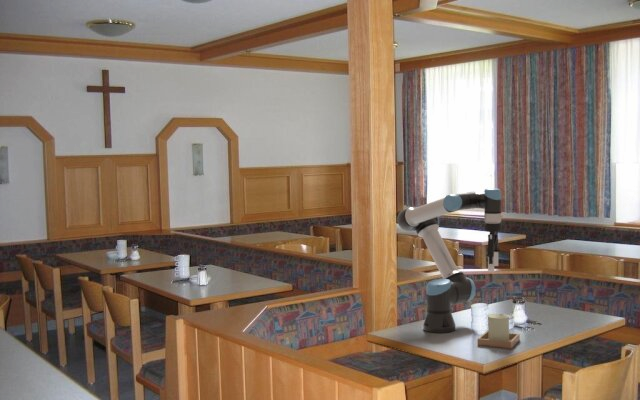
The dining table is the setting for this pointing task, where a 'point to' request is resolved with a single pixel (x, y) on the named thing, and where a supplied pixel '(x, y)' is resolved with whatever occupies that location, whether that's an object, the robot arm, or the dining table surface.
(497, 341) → the brown square tray
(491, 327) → the can
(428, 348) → the dining table surface
